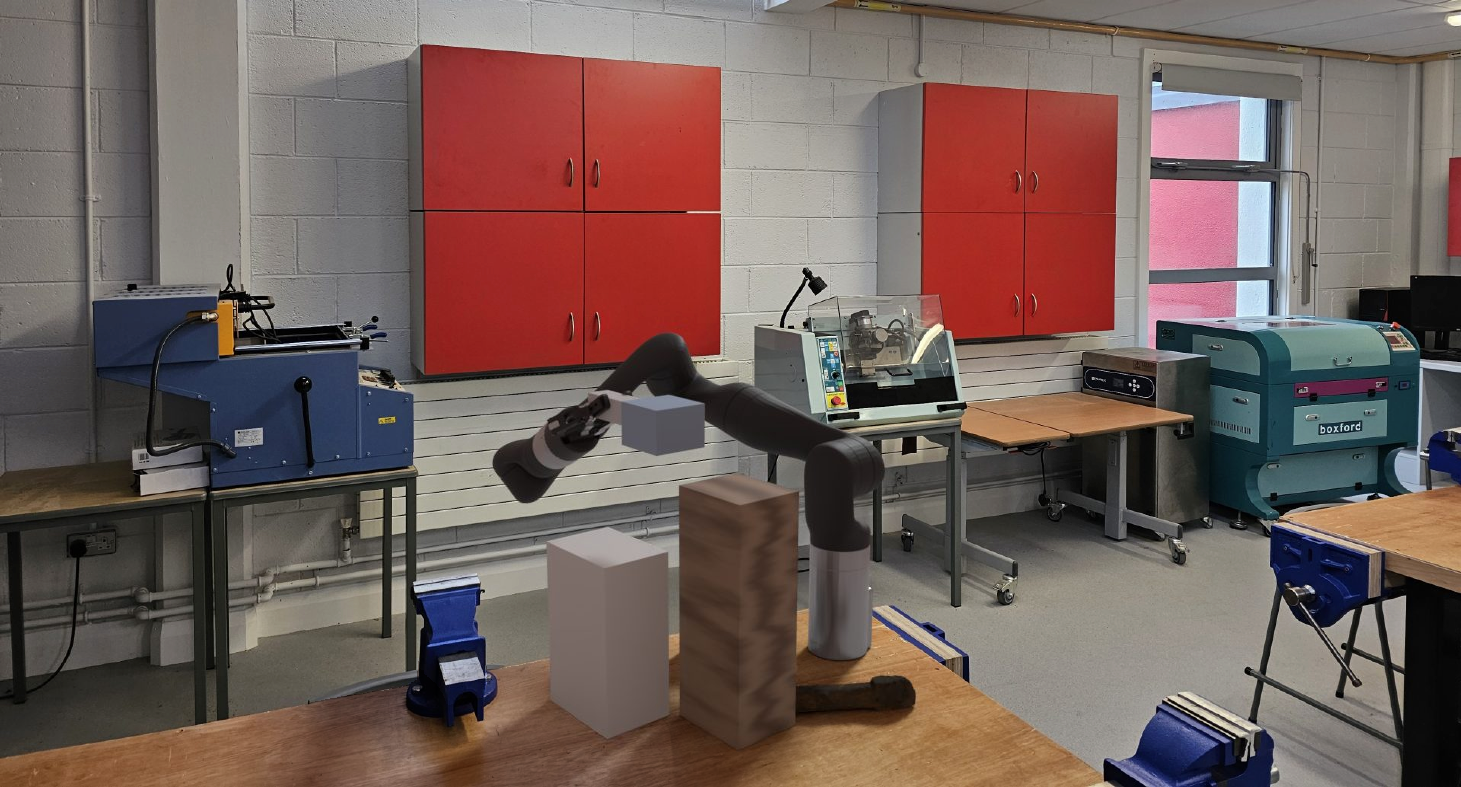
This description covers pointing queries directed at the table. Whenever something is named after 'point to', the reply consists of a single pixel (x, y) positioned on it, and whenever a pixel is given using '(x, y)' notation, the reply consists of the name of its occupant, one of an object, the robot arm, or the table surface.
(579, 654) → the grey pedestal
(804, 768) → the table surface
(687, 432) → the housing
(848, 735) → the table surface
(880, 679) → the hand tool
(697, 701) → the walnut stand
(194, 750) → the table surface
